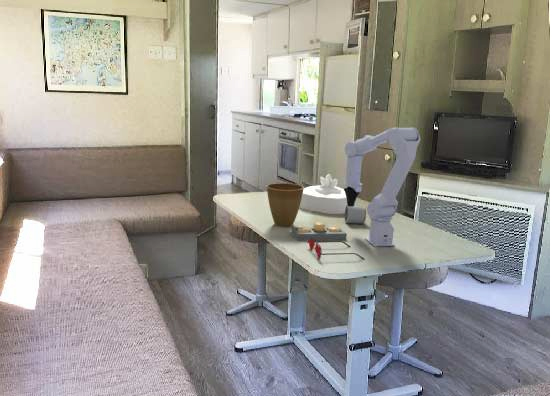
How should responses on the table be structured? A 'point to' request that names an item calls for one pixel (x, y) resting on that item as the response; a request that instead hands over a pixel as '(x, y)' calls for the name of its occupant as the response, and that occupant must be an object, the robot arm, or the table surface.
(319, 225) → the tan rounded lump
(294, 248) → the table surface
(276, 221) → the plant pot
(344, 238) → the board
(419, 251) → the table surface
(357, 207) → the ceramic mug
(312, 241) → the glasses
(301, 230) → the pale orange rounded lump
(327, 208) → the white decorated cake
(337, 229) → the tan rounded lump
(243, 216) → the table surface
